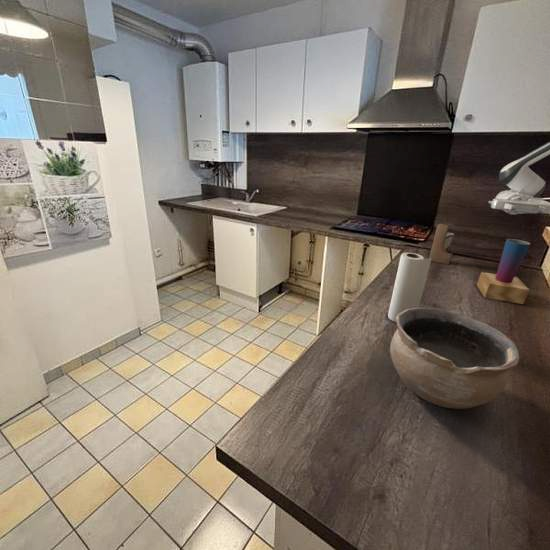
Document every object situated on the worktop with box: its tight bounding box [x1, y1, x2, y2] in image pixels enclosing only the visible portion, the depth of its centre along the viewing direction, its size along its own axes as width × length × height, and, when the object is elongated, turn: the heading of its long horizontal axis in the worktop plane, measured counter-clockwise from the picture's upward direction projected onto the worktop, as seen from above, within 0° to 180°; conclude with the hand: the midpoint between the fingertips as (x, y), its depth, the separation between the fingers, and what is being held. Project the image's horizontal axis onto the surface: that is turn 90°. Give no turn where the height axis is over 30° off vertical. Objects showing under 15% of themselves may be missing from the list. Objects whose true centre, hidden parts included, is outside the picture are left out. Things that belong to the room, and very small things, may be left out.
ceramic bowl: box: [389, 307, 520, 410], centre depth 63 cm, size 22×22×15 cm
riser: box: [476, 271, 530, 305], centre depth 110 cm, size 12×12×6 cm
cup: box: [495, 238, 531, 283], centre depth 106 cm, size 7×7×15 cm
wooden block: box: [428, 223, 453, 265], centre depth 139 cm, size 9×4×18 cm, turn 53°
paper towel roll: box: [387, 252, 432, 323], centre depth 88 cm, size 7×6×21 cm
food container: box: [444, 232, 455, 252], centre depth 156 cm, size 12×6×10 cm, turn 130°
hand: (527, 208), depth 114 cm, fingers open, 8 cm apart
